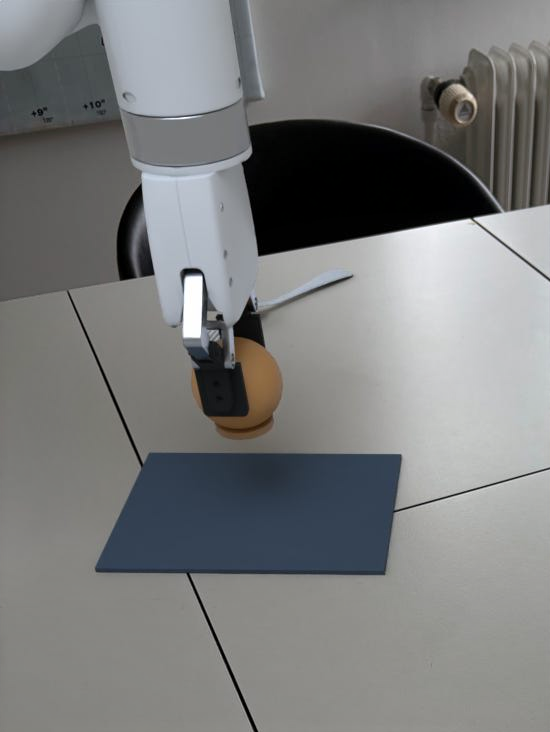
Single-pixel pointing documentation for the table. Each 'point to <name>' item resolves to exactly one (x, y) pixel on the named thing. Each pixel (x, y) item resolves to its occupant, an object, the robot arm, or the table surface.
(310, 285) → the fork
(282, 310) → the table surface
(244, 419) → the orange ball with stem
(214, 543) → the mat
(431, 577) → the table surface
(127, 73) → the robot arm
